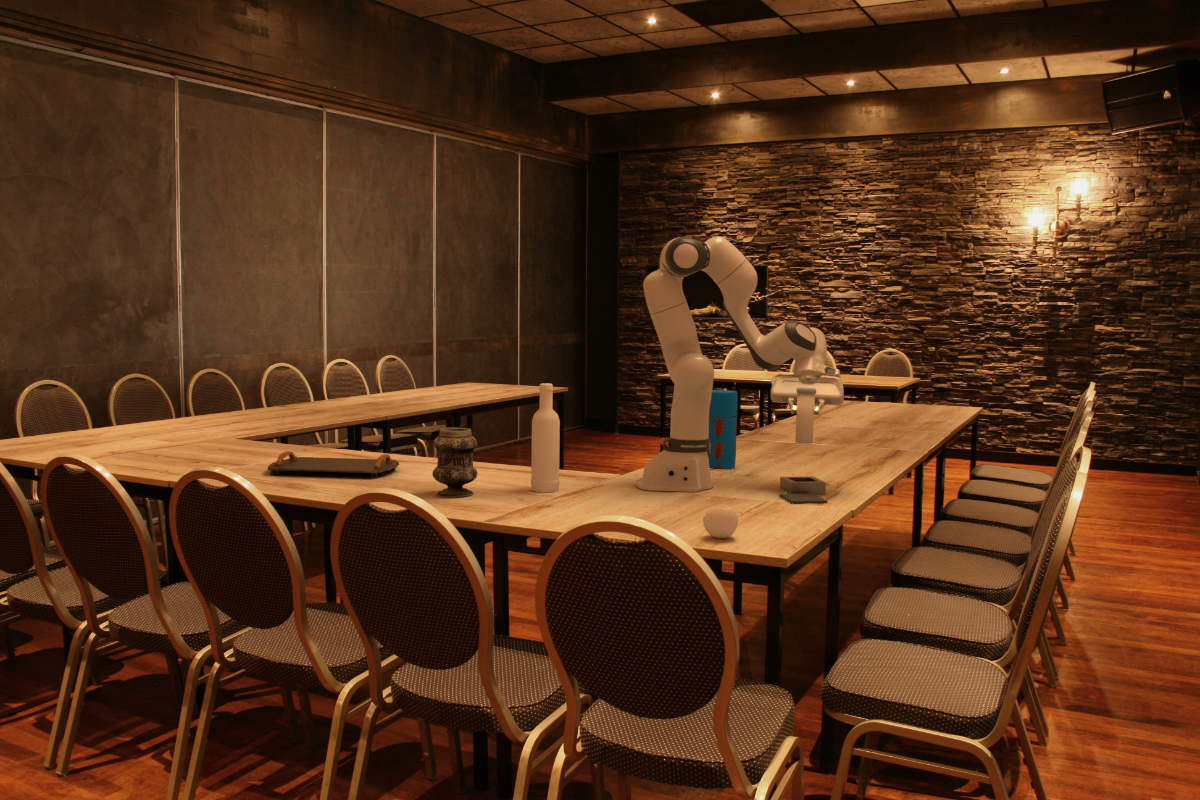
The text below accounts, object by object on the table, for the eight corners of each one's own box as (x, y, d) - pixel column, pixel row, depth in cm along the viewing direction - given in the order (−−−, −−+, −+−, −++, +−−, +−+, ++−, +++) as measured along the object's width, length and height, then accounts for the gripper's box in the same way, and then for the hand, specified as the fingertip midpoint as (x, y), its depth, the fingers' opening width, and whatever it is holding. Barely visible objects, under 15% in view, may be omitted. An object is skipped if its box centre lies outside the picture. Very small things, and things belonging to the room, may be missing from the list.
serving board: (257, 477, 289) (257, 457, 289) (289, 465, 312) (289, 446, 312) (384, 481, 286) (384, 460, 285) (407, 469, 308) (407, 449, 308)
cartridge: (798, 443, 268) (800, 389, 267) (791, 441, 274) (793, 387, 272) (816, 444, 269) (819, 389, 268) (809, 441, 275) (812, 387, 273)
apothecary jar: (484, 491, 269) (484, 427, 268) (466, 499, 258) (466, 432, 256) (443, 489, 273) (444, 425, 271) (425, 496, 261) (424, 430, 260)
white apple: (727, 533, 224) (728, 499, 223) (744, 540, 217) (745, 506, 216) (696, 535, 221) (697, 502, 220) (713, 543, 214) (714, 508, 213)
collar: (791, 495, 272) (791, 482, 271) (779, 488, 282) (780, 476, 281) (825, 494, 273) (825, 482, 273) (813, 488, 283) (813, 476, 283)
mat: (791, 503, 259) (791, 500, 259) (779, 496, 269) (779, 493, 269) (827, 503, 261) (827, 500, 261) (814, 496, 271) (814, 493, 271)
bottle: (555, 493, 269) (556, 385, 266) (527, 491, 270) (528, 384, 268) (562, 488, 277) (563, 383, 274) (535, 486, 278) (536, 382, 275)
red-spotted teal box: (734, 470, 313) (736, 393, 310) (700, 469, 315) (702, 392, 313) (736, 465, 323) (738, 390, 321) (704, 463, 325) (706, 389, 323)
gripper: (771, 367, 279) (767, 403, 270) (845, 370, 274) (842, 407, 265) (772, 381, 284) (767, 418, 275) (844, 384, 278) (842, 422, 270)
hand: (805, 413), depth 270 cm, fingers closed on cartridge, 5 cm apart
